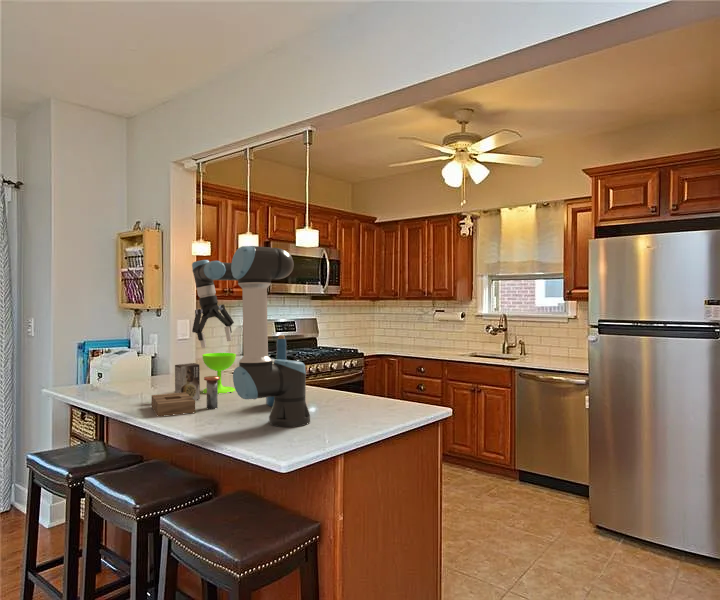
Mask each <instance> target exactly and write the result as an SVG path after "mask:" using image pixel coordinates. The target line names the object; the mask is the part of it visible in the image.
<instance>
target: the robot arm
mask: <svg viewBox="0 0 720 600" xmlns="http://www.w3.org/2000/svg"><path fill="white" fill-rule="evenodd" d="M294 264H295V263H294V260H293V257H292V255H291V253H289V252H288V251H287V250H285V249H283V248H279V247H269V246H268V247H267V246H256V245H244V246H243V245H242V246H240V247H238V248H237V249H236V251H235V252H234V254H233V256H232V259H231V262H222V261H220V260H211V261H210V260H209V259H202V260H197V261H194V262H192V263H191V268H192V270H191V271H192V273H193V279H194V283H195V286H196V287H195V288H196V291H197V296H198V297H199V298H198V301H199V302H198V303H199V306H200V308H198V309H197V308H196V309H195V310H194V314H195V315H194V319H193V325H192V330H191V331H192V333H195V334H196V335H197V339H198V341H199V343H200V348H201V349H205V348H207V347H208V346H207V340H206V337H205V332H203V330H204V329H205V325H206V323H207V321H208V319H210V318H217V319H218V321H220V322H221V323H222V324H223V326H224V327H223V328H224V332H225V337H226V341H227V342H232V341H233V337H232V332H233V331H232V326H233V324H234V323H235V322H234V320H233V318H232V317H231V316H230V314H229V312H228V311H227V310H226V308H225V305H224V304H218V303H219V302H218V296H217V295H216V293H217V292H216V287H215V284H214V282H215V281H237V285H238V286H239V287H240V288H241V289H242V340H243V342H242V343H243V346H242V347H243V348H242V349H243V353H242V354H243V356H242V357H241V359H240V360H239V361H238V362H239V363H238V366H237V367H235V368H234V370H233V372H232V382H233V386H234V387H233V388H235V390H236V391H235V392H236V394H237V396H239V397H240V398H241V399H243V400H257V399H262V398H263V399H264V398H265V399H266V397H273V396H274V404H273V407H271V410H270V413H269V418H268V419H269V421H268V424H270V425H271V426H274V427H281V428H283V427H284V428H289V427H290V428H292V427H293V426H295V427H301V426H300V425H302V426H305V425H304V424H306V425H308V424H310V423H309V422H311V415H310V411H309V409H308V406H307V402H306V393H307V392H306V391H307V389H306V384H307V383H306V382H307V381H306V377H307V372H306V364H305V363H304V362H302V361H300V360H299V361H297V360H290V359H287V360H281V359H274V360H273V359H272V358H271V357H270V356H269V347H268V346H269V343H268V342H269V341H268V339H269V336H268V335H269V334H268V333H269V332H268V330H269V329H268V288H269V287H270V285H271V284H272V280H281V279H285V278H287V277H288V276H290V274H291V273H292V272H293V270H294V266H295V265H294ZM307 423H308V424H307Z"/></svg>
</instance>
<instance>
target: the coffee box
mask: <svg viewBox="0 0 720 600" xmlns="http://www.w3.org/2000/svg"><path fill="white" fill-rule="evenodd" d="M200 383H201V382H200V363H195V362H194V363H193V362H189V363H180V364H174V393H184V392H186V393H187V394H188V395H190V396H191V397H192V398H193V399H194V400H195V401H198V400H197V399H201V387H200V386H201V385H200Z"/></svg>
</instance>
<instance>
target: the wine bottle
mask: <svg viewBox="0 0 720 600" xmlns="http://www.w3.org/2000/svg"><path fill="white" fill-rule="evenodd" d="M277 337H278V338H277V339H276V346H275V347H276V357H275V358H276V359H281V360H288V359H287V346H288V345H287V339H286V337H285V335H283V334H281V335H278V336H277ZM276 359H275V360H276ZM265 404H266V405H267V406H268V407H270V408H272V407H273V404H274V396H273V397H265Z"/></svg>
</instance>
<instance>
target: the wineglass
mask: <svg viewBox="0 0 720 600" xmlns="http://www.w3.org/2000/svg"><path fill="white" fill-rule="evenodd" d="M201 356H202V360H203V363H204V365H205V366H206V367H207V368H209V369H210V370H211V371H216V376H220V380H218V395H220V394H219V393H227V392H232V393H234V392H233V391H235V387H233V386H224V385H223V384H222V371H225V370H228V369H229V368H230V367H232V366H233V364H234V363H235V361H236V357H237V354H236V353H235V352H212V353H211V352H209V353H203V354H202V355H201ZM202 391H203V392H204V393H203V392H202V393H203V394H205V393H207V387H206V388H204V389H203V390H202ZM235 392H236V391H235ZM227 394H228V393H227Z"/></svg>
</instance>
